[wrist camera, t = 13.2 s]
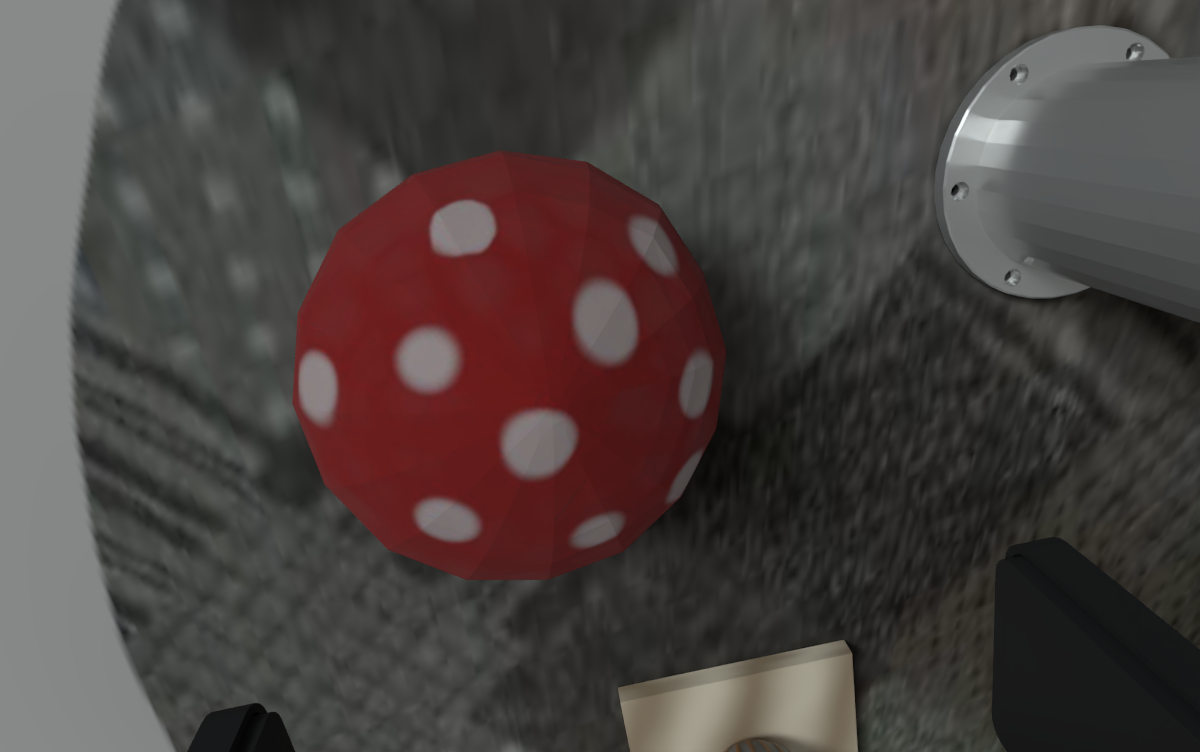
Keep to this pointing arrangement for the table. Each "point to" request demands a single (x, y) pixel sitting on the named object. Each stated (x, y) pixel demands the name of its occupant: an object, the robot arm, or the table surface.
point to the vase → (756, 746)
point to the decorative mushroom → (508, 366)
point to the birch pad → (749, 704)
